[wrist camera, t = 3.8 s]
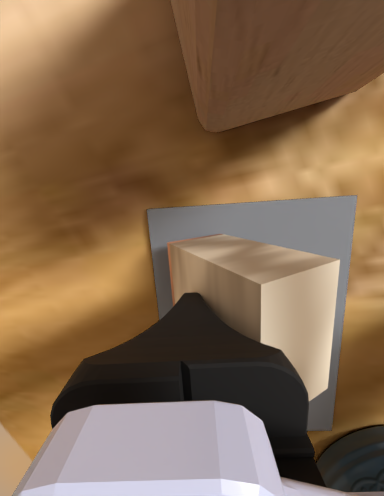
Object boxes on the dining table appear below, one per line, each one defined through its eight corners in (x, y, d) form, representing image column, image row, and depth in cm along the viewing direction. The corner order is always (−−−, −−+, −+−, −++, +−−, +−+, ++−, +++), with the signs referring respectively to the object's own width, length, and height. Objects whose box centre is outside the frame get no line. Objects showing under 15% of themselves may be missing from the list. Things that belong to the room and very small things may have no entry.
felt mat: (353, 195, 15) (357, 195, 14) (329, 425, 20) (331, 430, 19) (148, 209, 15) (146, 209, 15) (173, 428, 20) (172, 432, 20)
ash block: (220, 233, 15) (340, 259, 8) (223, 311, 17) (327, 388, 10) (167, 242, 14) (261, 284, 7) (175, 327, 15) (259, 436, 8)
